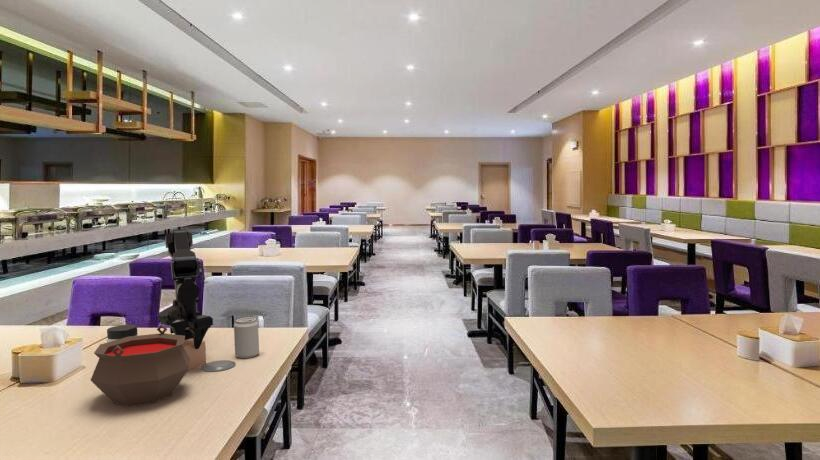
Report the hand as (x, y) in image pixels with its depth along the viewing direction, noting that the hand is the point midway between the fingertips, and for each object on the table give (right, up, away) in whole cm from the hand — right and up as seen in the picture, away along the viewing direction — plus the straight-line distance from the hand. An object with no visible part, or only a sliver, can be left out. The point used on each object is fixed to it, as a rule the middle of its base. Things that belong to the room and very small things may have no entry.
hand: (188, 346), depth 163 cm
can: (+15, -5, +9) cm, 18 cm away
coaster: (+10, -6, -2) cm, 11 cm away
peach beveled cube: (0, -6, 0) cm, 6 cm away
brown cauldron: (-1, -8, -25) cm, 26 cm away
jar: (-20, -6, 0) cm, 21 cm away
